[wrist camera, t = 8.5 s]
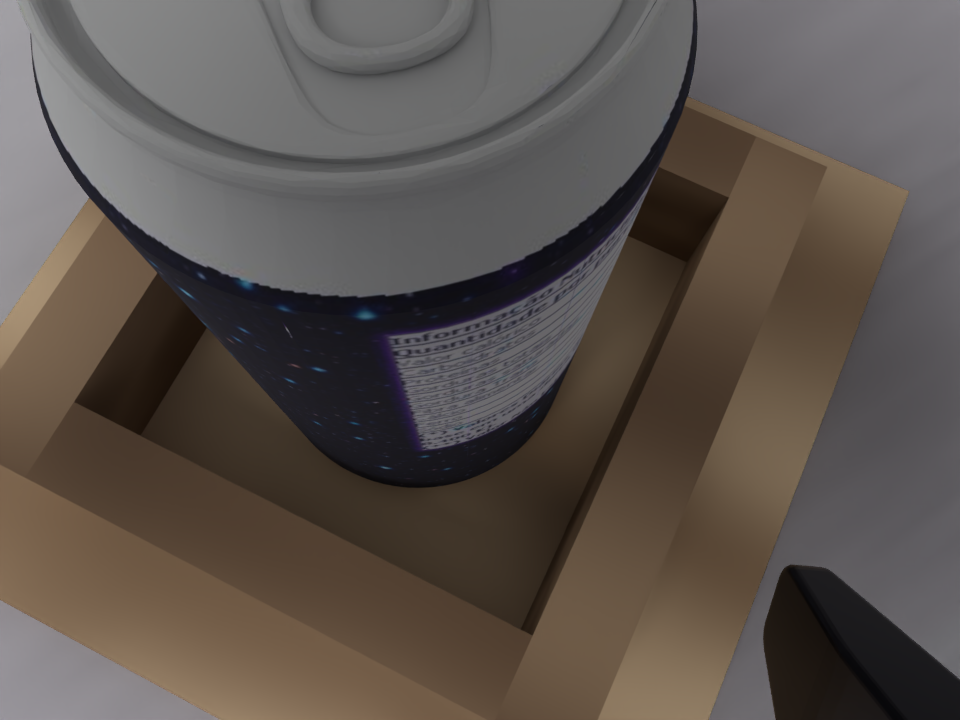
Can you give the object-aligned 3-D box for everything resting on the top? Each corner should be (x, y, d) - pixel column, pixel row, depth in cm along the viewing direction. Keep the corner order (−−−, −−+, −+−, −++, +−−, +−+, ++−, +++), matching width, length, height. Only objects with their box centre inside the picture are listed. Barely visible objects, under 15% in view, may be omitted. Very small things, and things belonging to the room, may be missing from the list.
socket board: (618, 926, 15) (664, 1019, 12) (-117, 528, 17) (-265, 507, 14) (896, 203, 19) (990, 116, 16) (284, -59, 21) (249, -190, 18)
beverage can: (519, 205, 19) (613, -452, 7) (592, 455, 17) (866, 139, 6) (261, 262, 18) (-90, -345, 7) (313, 525, 17) (-23, 336, 5)
